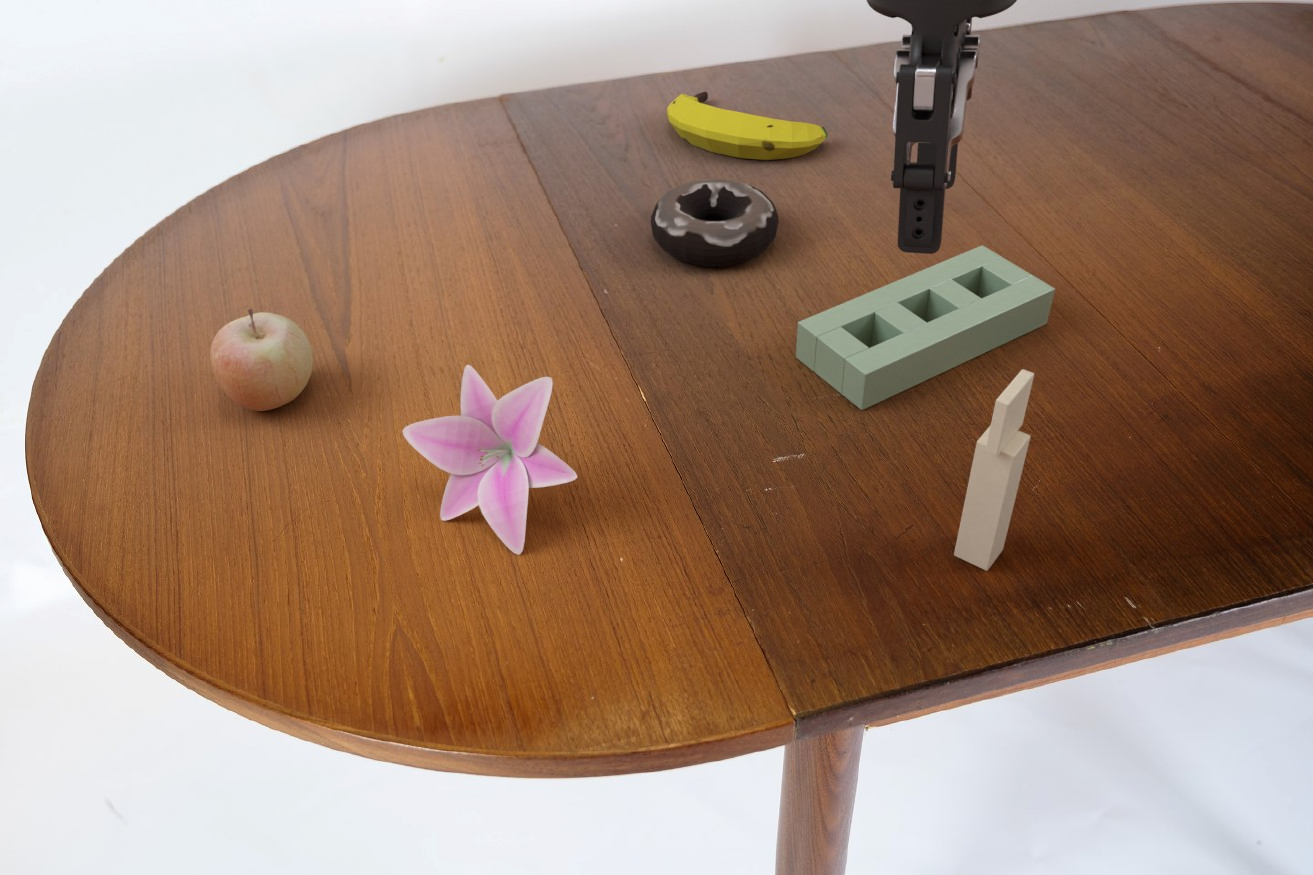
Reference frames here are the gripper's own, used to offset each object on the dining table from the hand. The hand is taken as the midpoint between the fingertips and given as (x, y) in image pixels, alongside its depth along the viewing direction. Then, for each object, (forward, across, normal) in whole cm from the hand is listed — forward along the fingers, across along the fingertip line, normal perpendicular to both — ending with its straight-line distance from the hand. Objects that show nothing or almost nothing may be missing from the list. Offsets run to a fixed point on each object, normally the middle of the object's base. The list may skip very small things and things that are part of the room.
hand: (927, 216), depth 63 cm
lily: (+21, -5, +28) cm, 35 cm away
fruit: (+19, +2, +50) cm, 53 cm away
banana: (+17, +55, +24) cm, 62 cm away
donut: (+19, +33, +22) cm, 43 cm away
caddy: (+21, +22, +1) cm, 30 cm away
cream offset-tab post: (+23, -1, -5) cm, 24 cm away
